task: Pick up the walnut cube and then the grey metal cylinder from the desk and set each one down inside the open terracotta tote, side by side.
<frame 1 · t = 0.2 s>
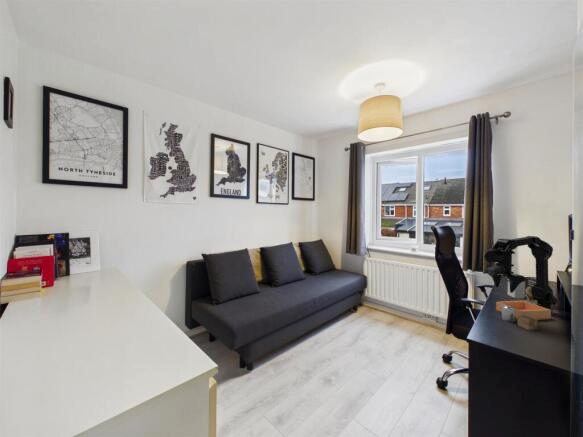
hand: (504, 289, 134), 15 cm above the table, fingers open, 9 cm apart
supplement box: (516, 297, 166), on the table
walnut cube: (527, 327, 121), on the table
tote: (522, 314, 137), on the table
grey cylinder: (508, 319, 130), on the table
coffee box: (535, 304, 153), on the table
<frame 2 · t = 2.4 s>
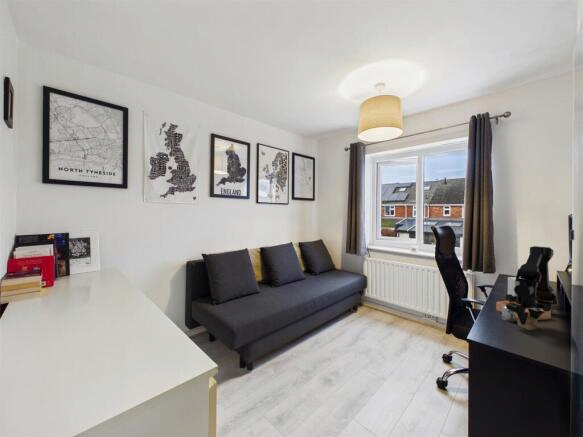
hand: (527, 324, 121), 2 cm above the table, fingers closed on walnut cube, 5 cm apart
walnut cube: (527, 327, 121), on the table, touching gripper
everything else where it was.
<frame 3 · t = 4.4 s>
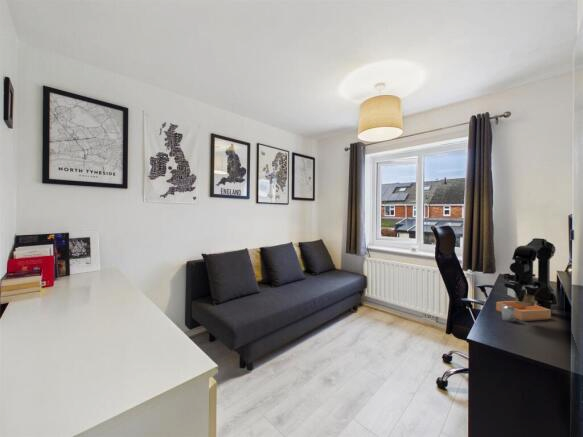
hand: (524, 301, 126), 11 cm above the table, fingers closed on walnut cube, 5 cm apart
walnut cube: (524, 304, 126), point 10 cm above the table, touching gripper
everything else where it was.
when the fingers open (5 cm above the table, at t = 6.7 s): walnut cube drops 3 cm, resting on tote.
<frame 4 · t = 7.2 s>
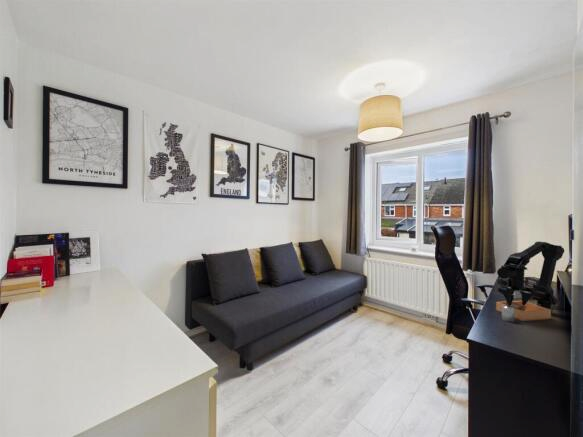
hand: (516, 305, 136), 5 cm above the table, fingers open, 9 cm apart
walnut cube: (516, 313, 136), point 1 cm above the table, touching tote
everything else where it was.
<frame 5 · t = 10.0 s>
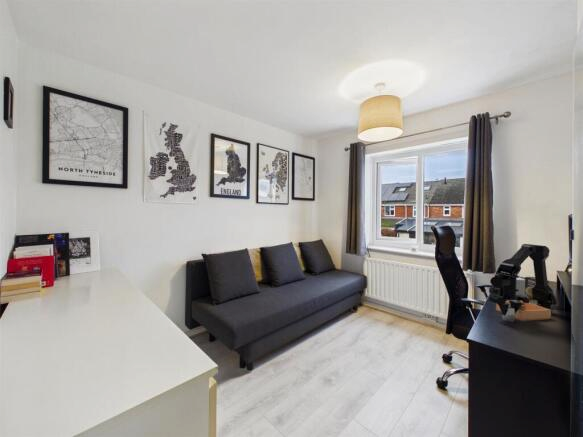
hand: (508, 315, 130), 3 cm above the table, fingers closed on grey cylinder, 5 cm apart
grey cylinder: (508, 319, 130), on the table, touching gripper
everything else where it was.
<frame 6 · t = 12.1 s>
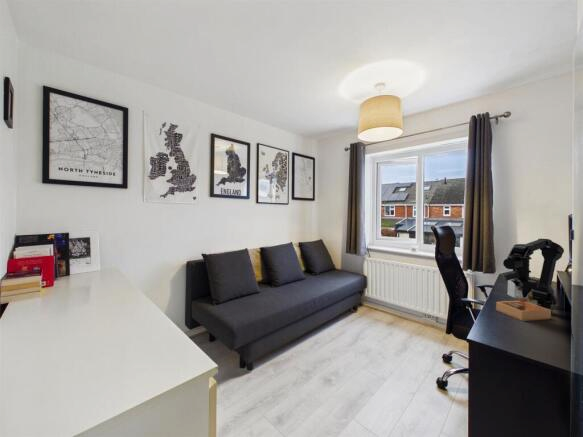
hand: (521, 295, 134), 11 cm above the table, fingers closed on grey cylinder, 5 cm apart
grey cylinder: (521, 300, 134), point 9 cm above the table, touching gripper
everything else where it was.
when the fingers open (5 cm above the table, at t = 14.2 s): grey cylinder drops 2 cm, resting on tote.
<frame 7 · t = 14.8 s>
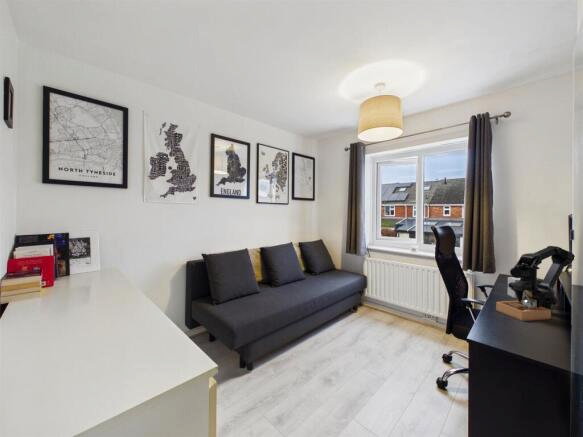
hand: (528, 304, 137), 5 cm above the table, fingers open, 9 cm apart
grey cylinder: (528, 312, 137), point 1 cm above the table, touching tote
everything else where it was.
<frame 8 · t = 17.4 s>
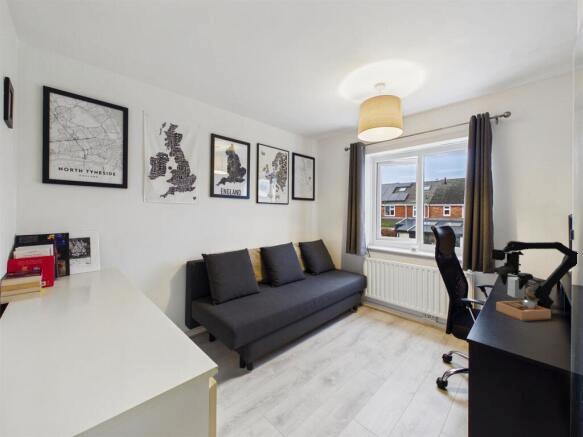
hand: (512, 287, 148), 12 cm above the table, fingers open, 9 cm apart
nothing on the table moved.
at the end: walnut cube inside the target area on the tote (4.0 cm from its centre), point 0.8 cm above the tote's base; grey cylinder inside the target area on the tote (4.0 cm from its centre), point 0.8 cm above the tote's base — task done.
